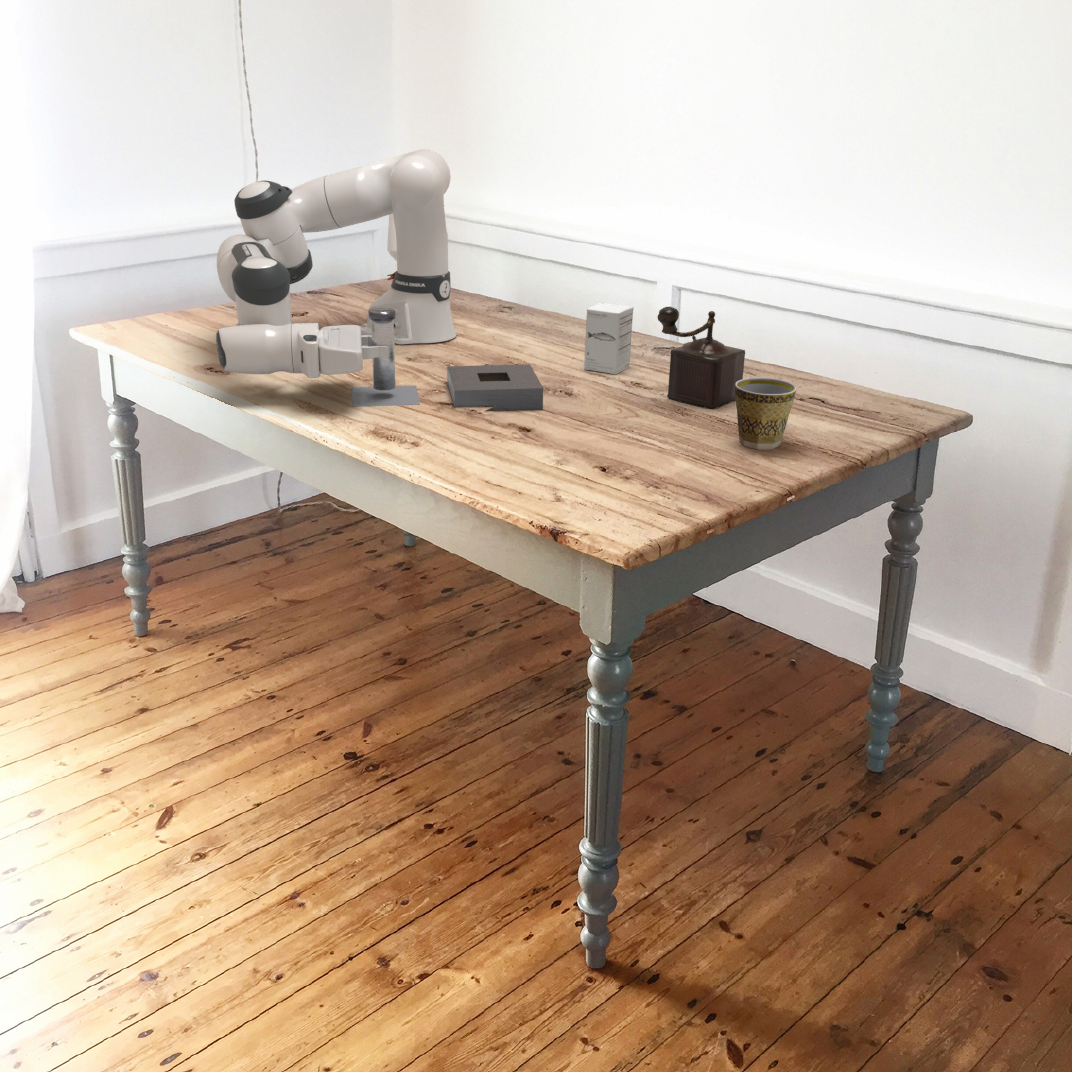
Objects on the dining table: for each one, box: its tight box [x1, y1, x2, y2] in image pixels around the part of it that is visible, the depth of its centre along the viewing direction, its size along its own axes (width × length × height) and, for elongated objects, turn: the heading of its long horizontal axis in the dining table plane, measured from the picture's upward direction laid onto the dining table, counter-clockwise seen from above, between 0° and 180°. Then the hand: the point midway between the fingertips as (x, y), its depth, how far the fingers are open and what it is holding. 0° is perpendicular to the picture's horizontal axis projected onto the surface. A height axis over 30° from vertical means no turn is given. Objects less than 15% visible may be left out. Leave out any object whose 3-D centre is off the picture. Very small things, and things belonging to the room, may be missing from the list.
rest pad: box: [351, 385, 421, 408], centre depth 211 cm, size 12×12×1 cm
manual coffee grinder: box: [657, 306, 746, 410], centre depth 211 cm, size 16×11×18 cm
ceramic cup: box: [734, 377, 797, 451], centre depth 192 cm, size 13×10×10 cm
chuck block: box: [446, 363, 544, 412], centre depth 213 cm, size 16×16×4 cm
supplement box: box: [583, 302, 634, 376], centre depth 231 cm, size 7×7×13 cm
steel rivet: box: [367, 308, 396, 390], centre depth 207 cm, size 5×5×14 cm
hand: (387, 346), depth 207 cm, fingers closed on steel rivet, 4 cm apart
